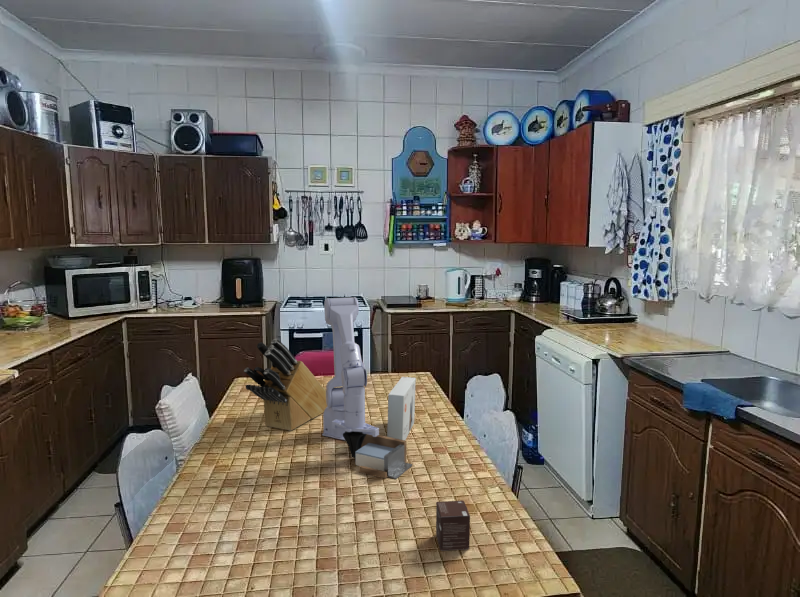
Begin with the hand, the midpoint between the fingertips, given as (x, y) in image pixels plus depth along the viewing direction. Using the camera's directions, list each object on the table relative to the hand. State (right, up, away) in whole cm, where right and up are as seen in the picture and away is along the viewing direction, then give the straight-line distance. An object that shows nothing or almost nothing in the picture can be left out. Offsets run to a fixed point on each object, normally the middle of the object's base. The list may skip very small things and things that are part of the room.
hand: (355, 456), depth 143 cm
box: (+23, -6, -38) cm, 45 cm away
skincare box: (+13, +1, +20) cm, 24 cm away
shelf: (+4, -1, -2) cm, 4 cm away
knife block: (-24, +2, +31) cm, 39 cm away
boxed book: (+6, -2, -2) cm, 7 cm away
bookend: (+12, -2, -6) cm, 14 cm away
